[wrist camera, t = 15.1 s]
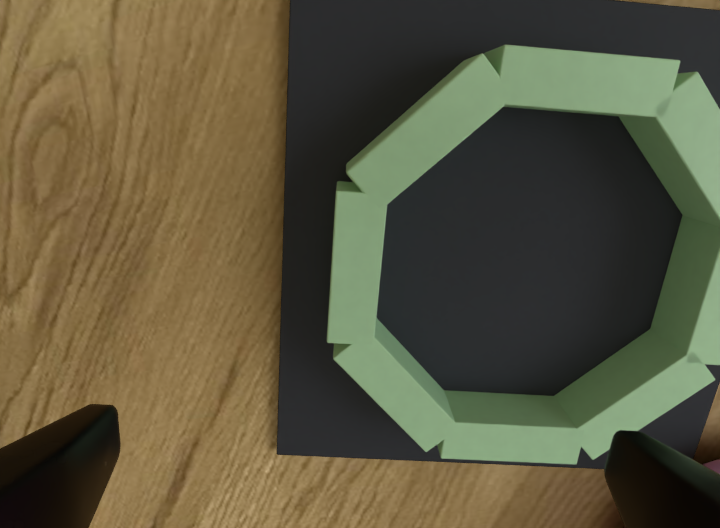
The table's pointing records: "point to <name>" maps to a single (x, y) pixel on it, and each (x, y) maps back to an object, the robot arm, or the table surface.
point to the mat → (476, 214)
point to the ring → (621, 370)
